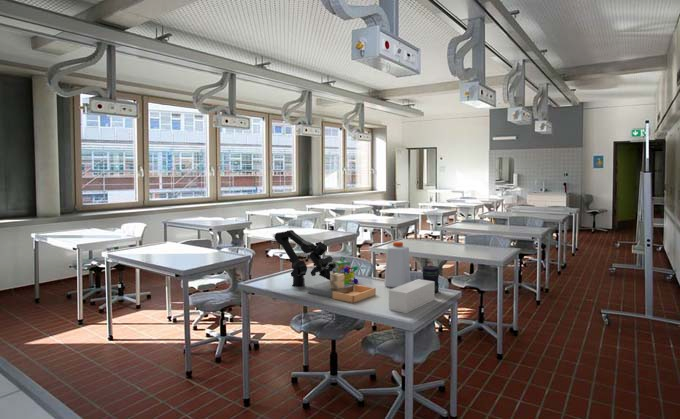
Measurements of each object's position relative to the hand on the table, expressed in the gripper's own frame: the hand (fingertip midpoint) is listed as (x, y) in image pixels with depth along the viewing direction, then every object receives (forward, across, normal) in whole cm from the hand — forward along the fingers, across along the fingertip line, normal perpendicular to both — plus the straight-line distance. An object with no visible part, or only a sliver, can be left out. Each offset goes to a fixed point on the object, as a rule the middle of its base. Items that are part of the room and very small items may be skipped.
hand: (331, 280), depth 283 cm
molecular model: (+2, +23, +8) cm, 25 cm away
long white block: (+43, +7, -31) cm, 53 cm away
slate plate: (+5, 0, +5) cm, 7 cm away
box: (+17, 0, -7) cm, 18 cm away
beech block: (+6, 0, -1) cm, 6 cm away
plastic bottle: (+22, +39, -11) cm, 46 cm away
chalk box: (-8, +33, +18) cm, 38 cm away
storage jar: (+39, +38, -28) cm, 61 cm away
